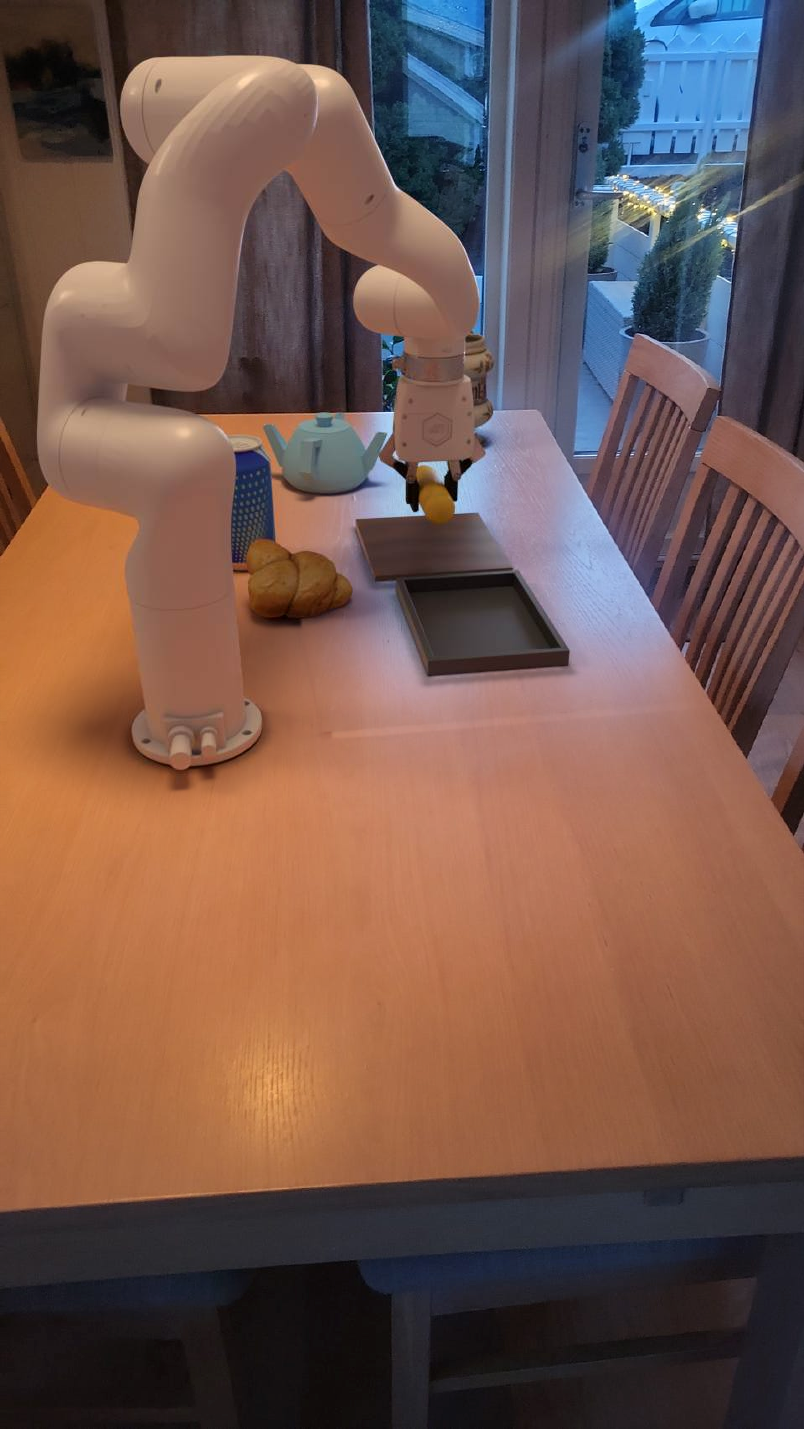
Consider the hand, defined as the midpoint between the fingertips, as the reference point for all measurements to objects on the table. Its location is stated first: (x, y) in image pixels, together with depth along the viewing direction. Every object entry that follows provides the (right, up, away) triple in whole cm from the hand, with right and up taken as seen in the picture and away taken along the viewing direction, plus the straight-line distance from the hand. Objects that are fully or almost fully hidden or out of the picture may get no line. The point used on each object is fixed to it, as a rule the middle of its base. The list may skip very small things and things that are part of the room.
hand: (431, 506), depth 137 cm
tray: (+5, -18, -17) cm, 25 cm away
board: (0, -6, +3) cm, 6 cm away
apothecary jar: (+6, +20, +46) cm, 50 cm away
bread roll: (-16, -15, -12) cm, 25 cm away
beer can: (-25, -7, +1) cm, 26 cm away
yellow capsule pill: (0, 0, 0) cm, 0 cm away
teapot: (-16, +9, +28) cm, 34 cm away
